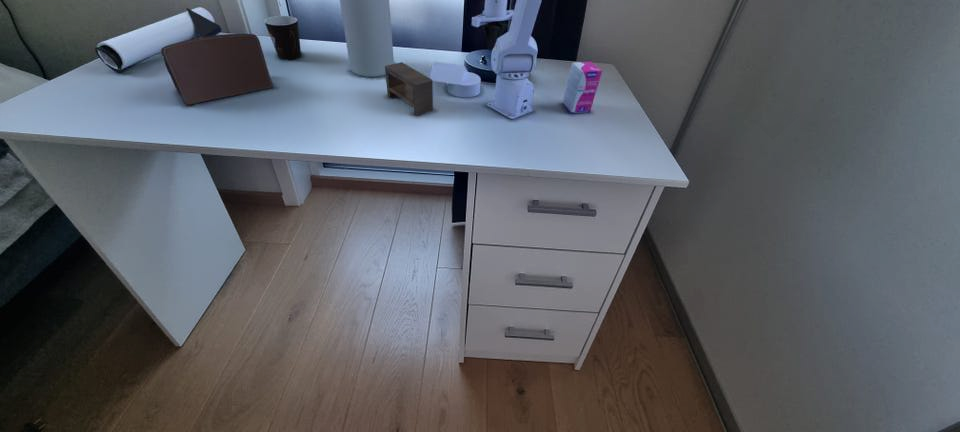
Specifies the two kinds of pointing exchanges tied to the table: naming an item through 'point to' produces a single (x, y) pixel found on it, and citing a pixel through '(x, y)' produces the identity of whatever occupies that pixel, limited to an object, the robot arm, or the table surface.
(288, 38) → the coffee mug
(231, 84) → the letter holder
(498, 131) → the table surface
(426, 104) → the walnut stand
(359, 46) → the cylinder vase
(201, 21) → the diploma
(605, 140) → the table surface
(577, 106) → the supplement box
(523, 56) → the robot arm
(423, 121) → the table surface
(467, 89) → the wedge on round base
